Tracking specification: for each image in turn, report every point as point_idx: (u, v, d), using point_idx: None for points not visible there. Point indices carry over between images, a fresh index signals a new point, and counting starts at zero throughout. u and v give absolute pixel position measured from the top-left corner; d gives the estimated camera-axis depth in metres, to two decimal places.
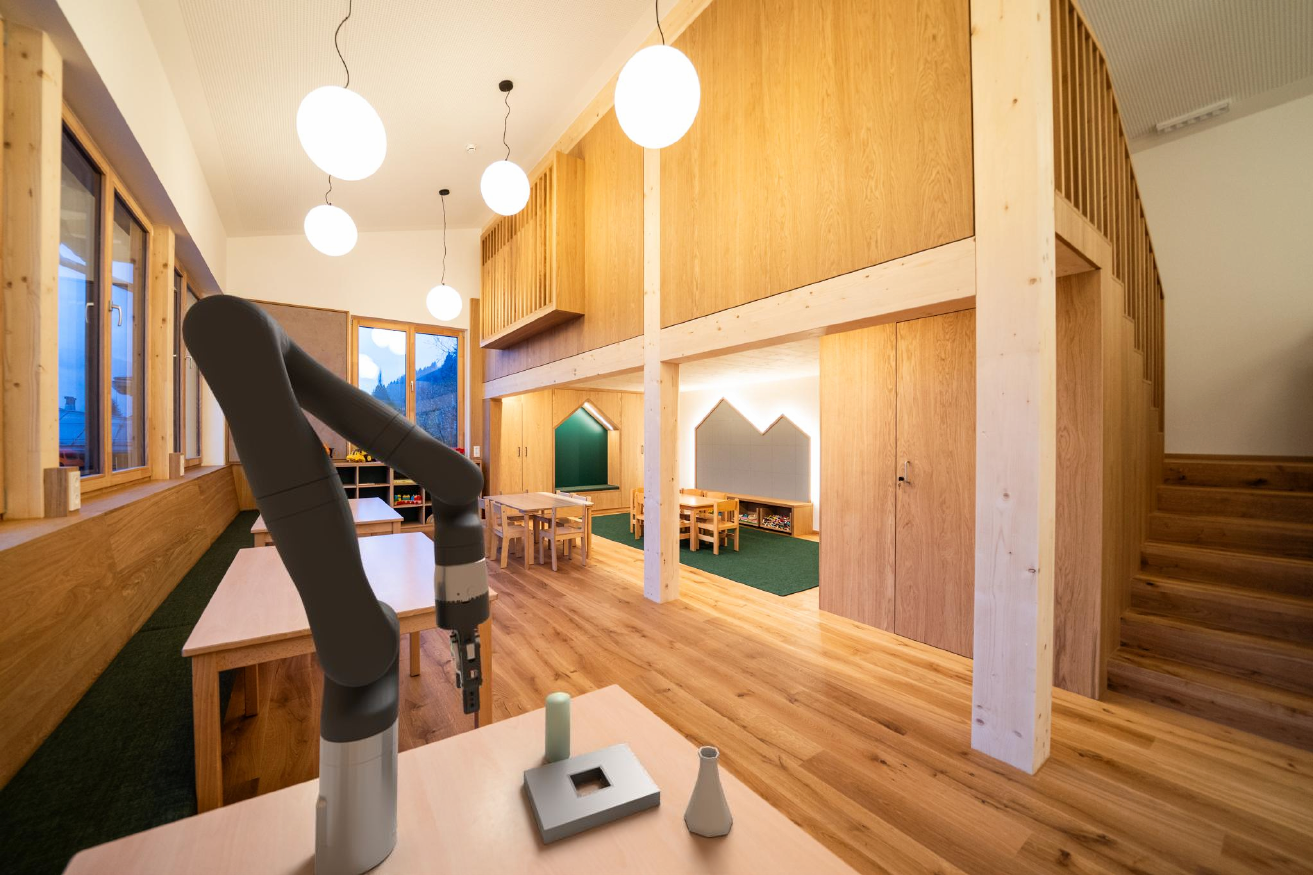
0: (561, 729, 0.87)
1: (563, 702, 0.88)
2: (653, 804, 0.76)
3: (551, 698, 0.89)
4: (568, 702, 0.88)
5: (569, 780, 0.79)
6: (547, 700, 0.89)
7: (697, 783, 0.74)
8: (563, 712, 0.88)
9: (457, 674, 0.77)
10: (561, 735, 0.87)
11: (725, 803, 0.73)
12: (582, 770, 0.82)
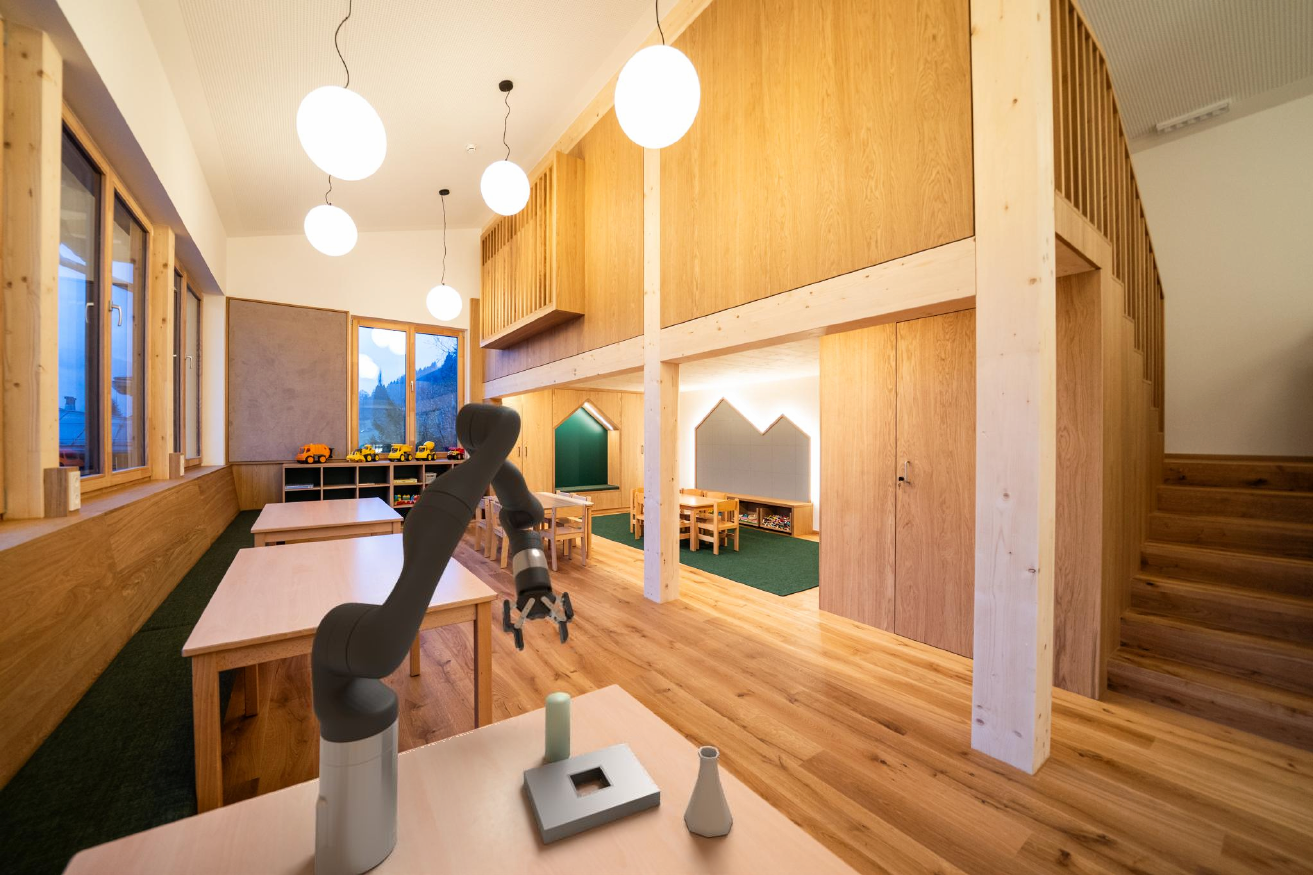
0: (561, 729, 0.87)
1: (563, 702, 0.88)
2: (653, 804, 0.76)
3: (551, 698, 0.89)
4: (568, 702, 0.88)
5: (569, 780, 0.79)
6: (547, 700, 0.89)
7: (697, 783, 0.74)
8: (563, 712, 0.88)
9: None
10: (561, 735, 0.87)
11: (725, 803, 0.73)
12: (582, 770, 0.82)
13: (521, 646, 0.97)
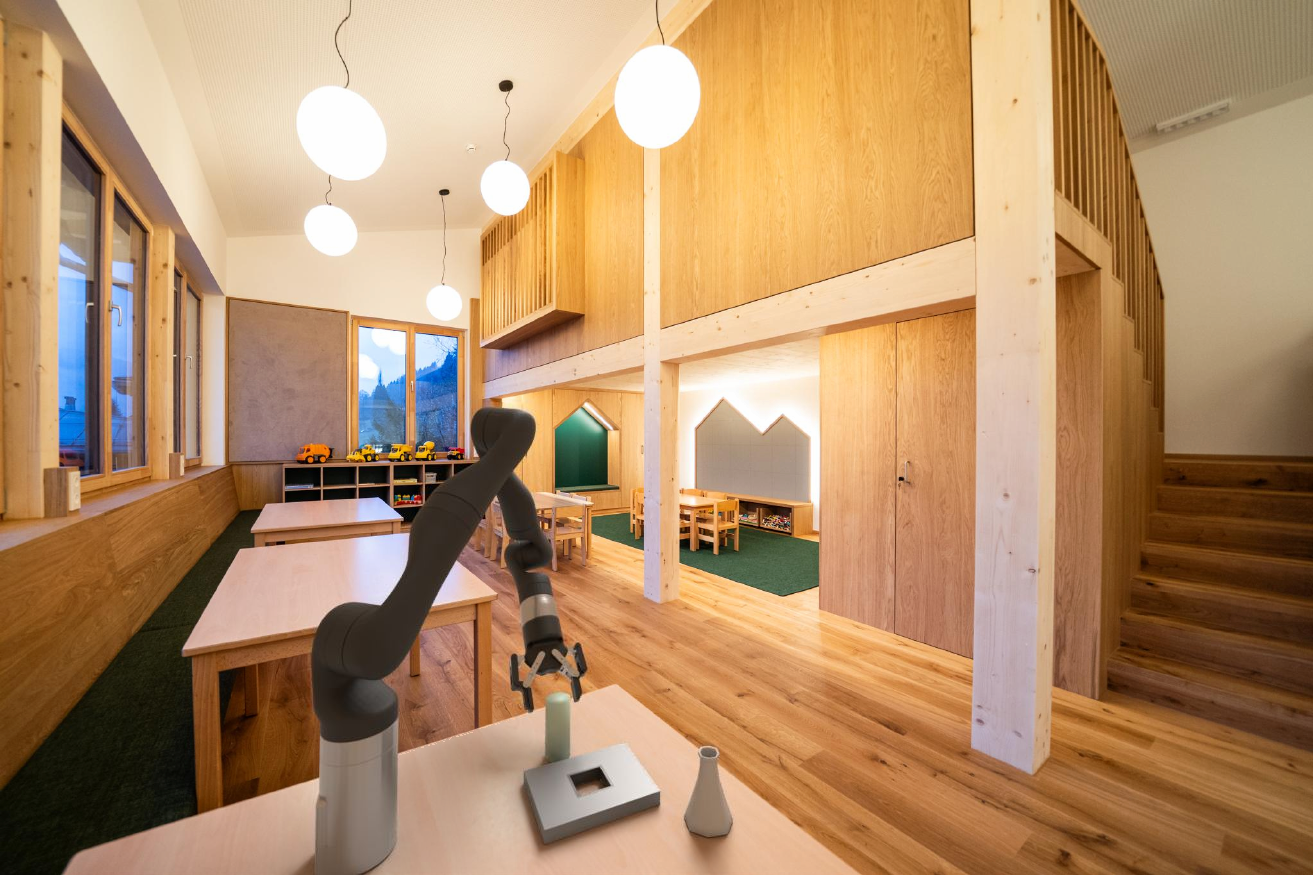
0: (561, 729, 0.87)
1: (563, 702, 0.88)
2: (653, 804, 0.76)
3: (551, 698, 0.89)
4: (568, 702, 0.88)
5: (569, 780, 0.79)
6: (547, 700, 0.89)
7: (697, 783, 0.74)
8: (563, 712, 0.88)
9: None
10: (561, 735, 0.87)
11: (725, 803, 0.73)
12: (582, 770, 0.82)
13: (531, 708, 0.89)
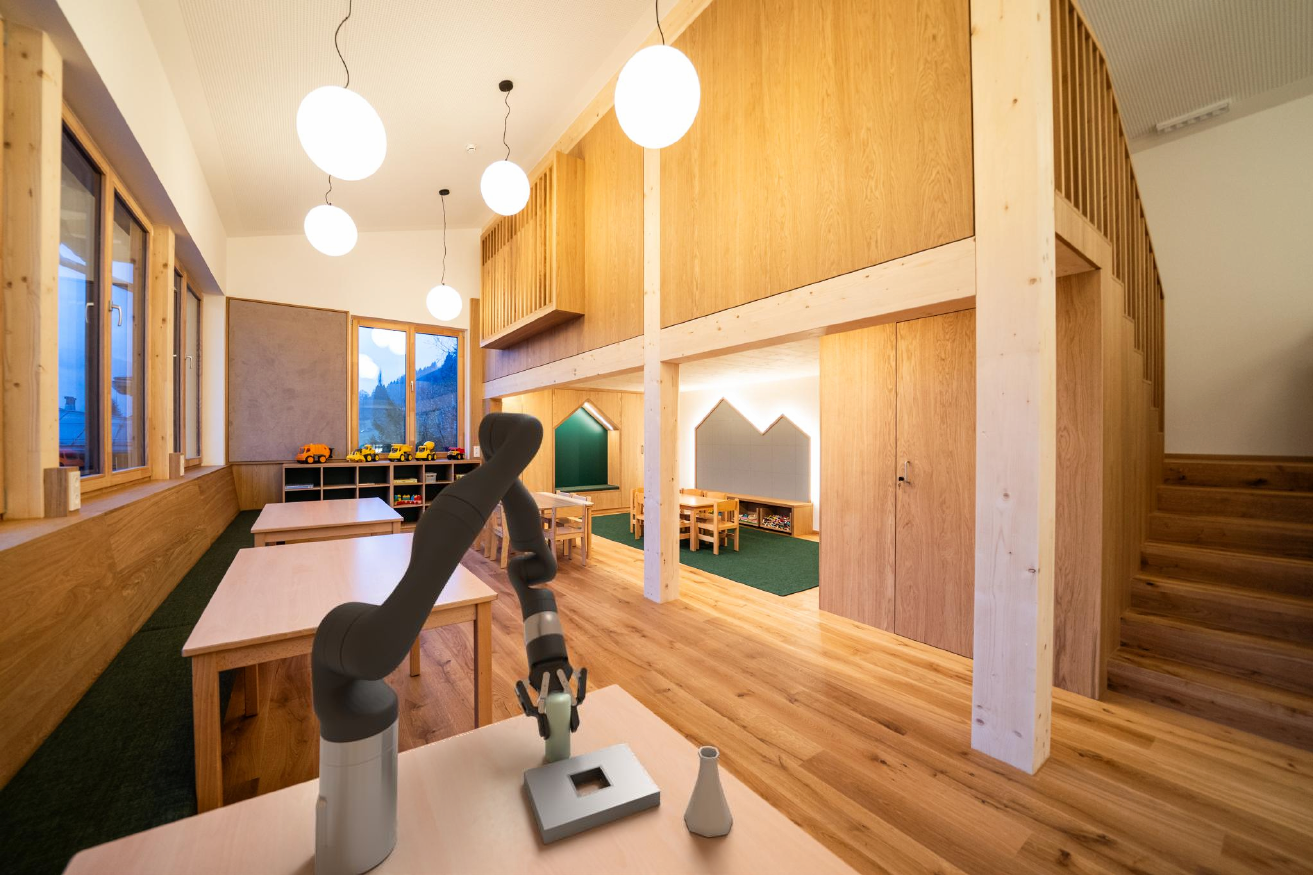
0: (561, 729, 0.87)
1: (563, 702, 0.88)
2: (653, 804, 0.76)
3: (551, 698, 0.89)
4: (568, 702, 0.88)
5: (569, 780, 0.79)
6: (547, 700, 0.89)
7: (697, 783, 0.74)
8: (563, 712, 0.88)
9: (547, 722, 0.87)
10: (561, 735, 0.87)
11: (725, 803, 0.73)
12: (582, 770, 0.82)
13: (547, 735, 0.86)
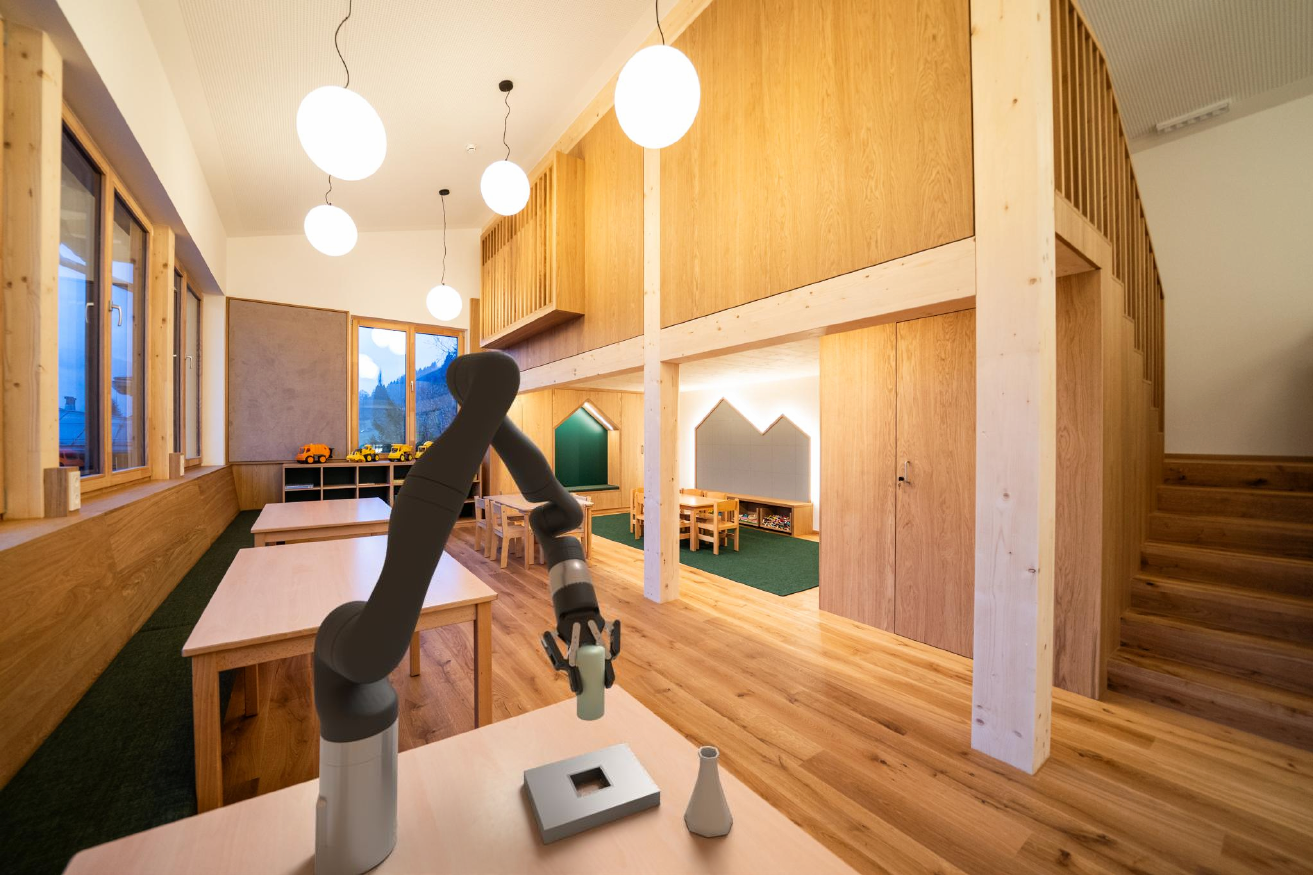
0: (595, 683, 0.78)
1: (597, 653, 0.78)
2: (653, 804, 0.76)
3: (583, 650, 0.80)
4: (602, 654, 0.79)
5: (569, 780, 0.79)
6: (579, 652, 0.79)
7: (697, 783, 0.74)
8: (598, 664, 0.78)
9: (579, 676, 0.78)
10: (595, 691, 0.78)
11: (725, 803, 0.73)
12: (582, 770, 0.82)
13: (579, 690, 0.76)
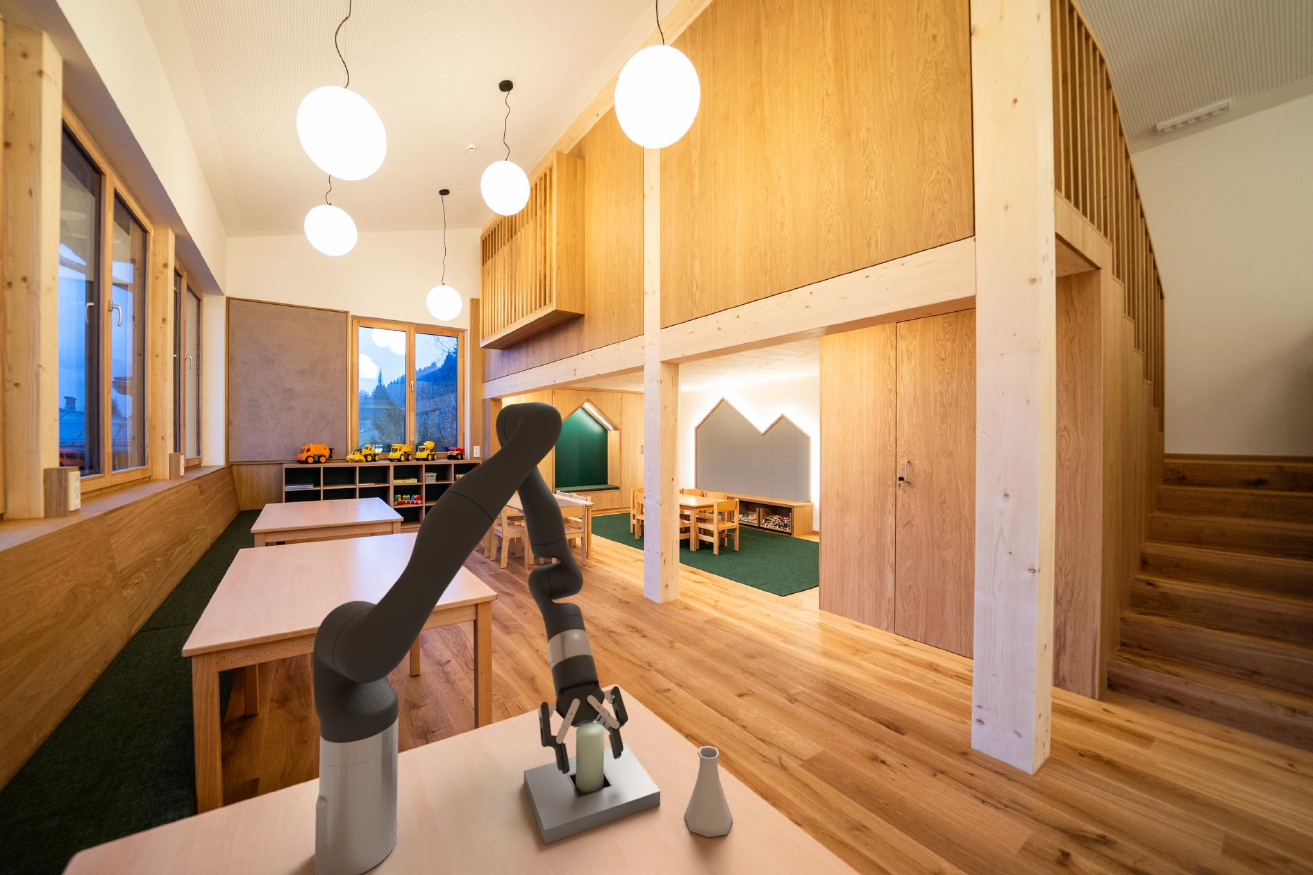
0: (594, 765, 0.77)
1: (596, 735, 0.78)
2: (653, 804, 0.76)
3: (582, 730, 0.79)
4: (602, 734, 0.79)
5: (569, 780, 0.79)
6: (578, 732, 0.79)
7: (697, 783, 0.74)
8: (597, 746, 0.78)
9: (566, 753, 0.77)
10: (594, 772, 0.77)
11: (725, 803, 0.73)
12: None
13: (566, 769, 0.76)
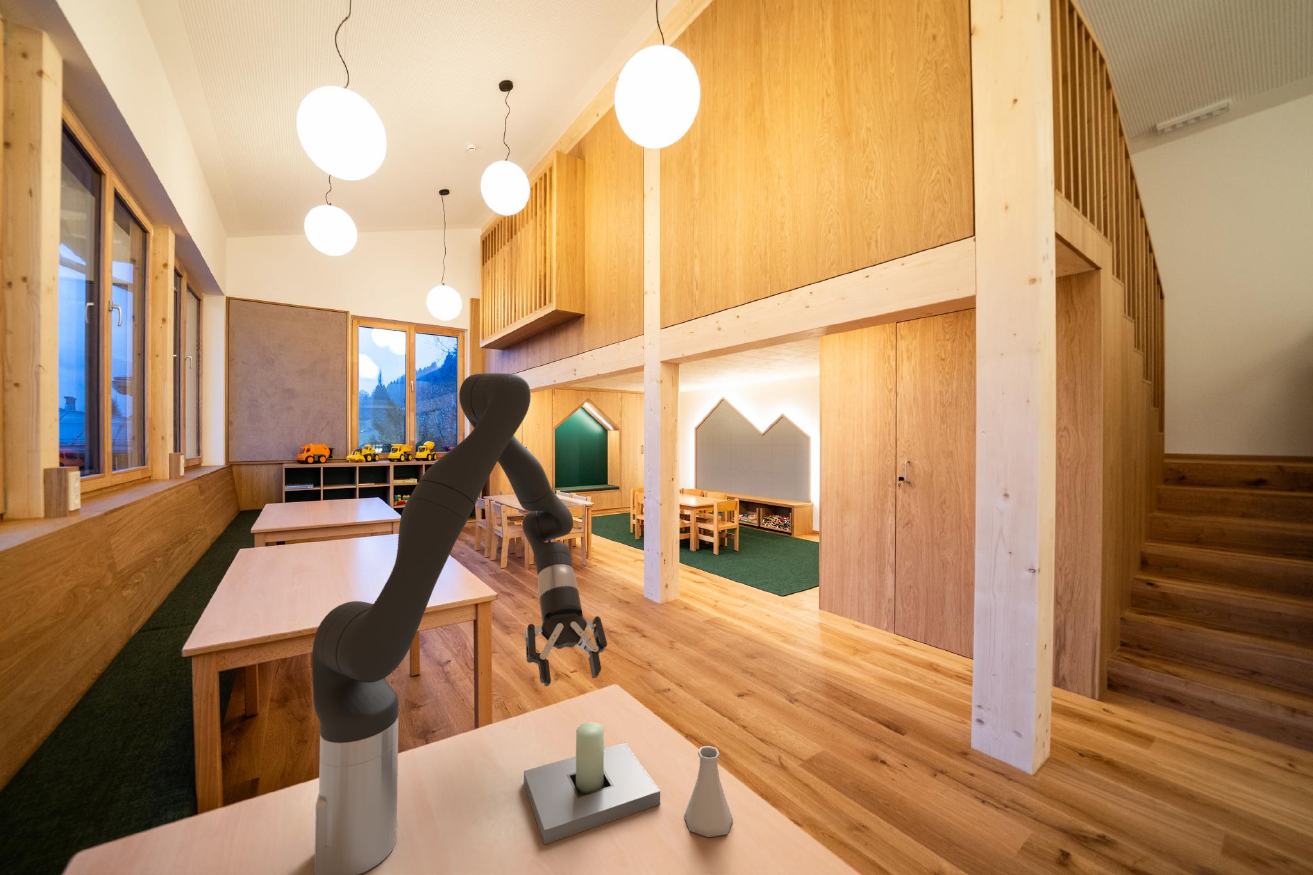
0: (594, 765, 0.77)
1: (596, 735, 0.78)
2: (653, 804, 0.76)
3: (582, 730, 0.79)
4: (602, 734, 0.79)
5: (569, 780, 0.79)
6: (578, 732, 0.79)
7: (697, 783, 0.74)
8: (597, 746, 0.78)
9: None
10: (594, 772, 0.77)
11: (725, 803, 0.73)
12: None
13: (547, 681, 0.84)
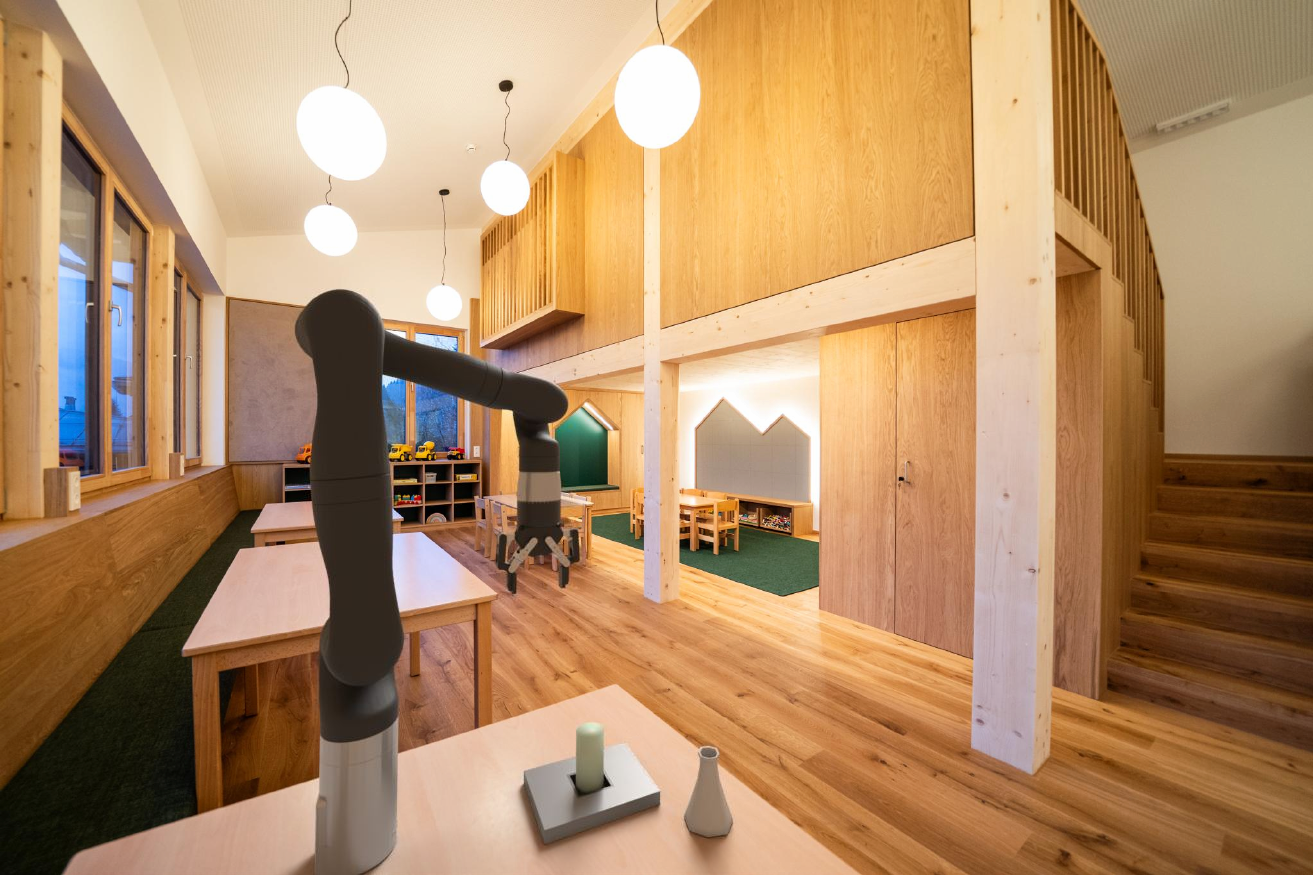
0: (594, 765, 0.77)
1: (596, 735, 0.78)
2: (653, 804, 0.76)
3: (582, 730, 0.79)
4: (602, 734, 0.79)
5: (569, 780, 0.79)
6: (578, 732, 0.79)
7: (697, 783, 0.74)
8: (597, 746, 0.78)
9: None
10: (594, 772, 0.77)
11: (725, 803, 0.73)
12: None
13: (513, 593, 0.84)
